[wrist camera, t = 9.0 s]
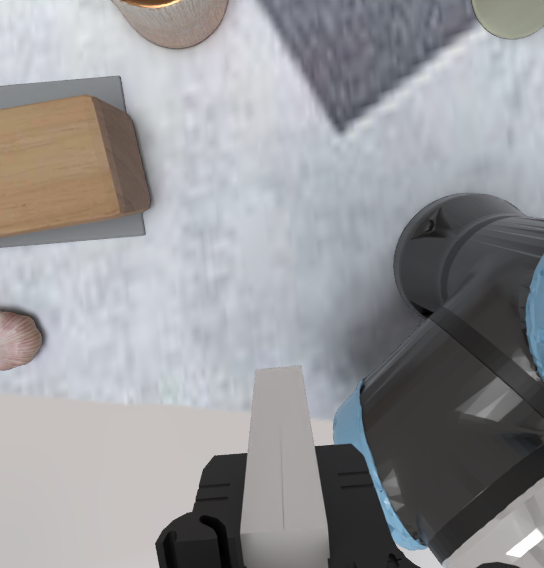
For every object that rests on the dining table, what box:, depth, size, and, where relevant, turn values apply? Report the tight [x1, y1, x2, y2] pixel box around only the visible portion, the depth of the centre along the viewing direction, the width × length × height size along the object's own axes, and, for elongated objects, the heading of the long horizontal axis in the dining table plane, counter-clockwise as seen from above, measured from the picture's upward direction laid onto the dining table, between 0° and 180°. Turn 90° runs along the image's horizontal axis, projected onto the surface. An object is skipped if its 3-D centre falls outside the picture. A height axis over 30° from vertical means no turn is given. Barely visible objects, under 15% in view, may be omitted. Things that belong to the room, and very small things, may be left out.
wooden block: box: [0, 94, 150, 238], centre depth 38 cm, size 10×10×20 cm
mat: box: [0, 76, 145, 248], centre depth 43 cm, size 20×16×1 cm
